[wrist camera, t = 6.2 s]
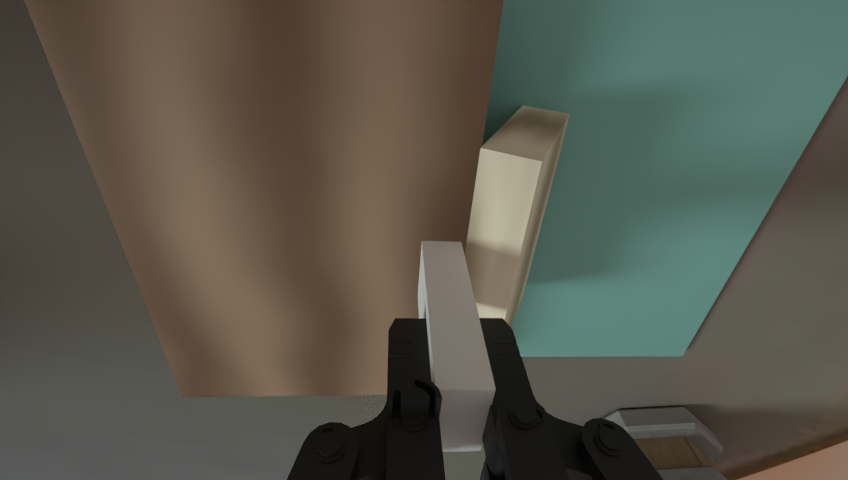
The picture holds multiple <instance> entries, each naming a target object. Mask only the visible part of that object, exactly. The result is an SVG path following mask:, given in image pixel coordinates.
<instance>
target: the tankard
mask: <svg viewBox="0 0 848 480" xmlns="http://www.w3.org/2000/svg"><path fill="white" fill-rule="evenodd" d="M603 419H606V420H610V421H613V422H614V423H616V424H618V425H619V426H621V427H623V428H624V429H625V430H626V431H627V433H628V434H629V435H630V436H631V437H632V438H633V440H634V441H635V442H636V444H637V445H638V446H639V448H640V449H641V450H642V452H643V453H644V454H645V456H646V457H647V458H648V460H649V461H650V462H651V464H652V465H653V466H654V468H655V469H656V470H657V472H658V473H659V475H660V476H661V477H662V479H663V480H728V479H727V478H725V477H724V476H723V475H722V474H721V473H719V472H718V471H717V470H716V468H715V467H714V465H713V464H714V462H715V461H716V460H717V458H718V457H719V455H720V454H721V453H722V450H723V447H722V445H721V444H720V442H719V441H718V439H717V438H716V436H715V435H714V433H713V432H712V431H711V430H710V429H708V428H707V427H706V426H705V425H704V424H703V423H702V422H701V421H700V420H699V419H697V418H696V417H695V416H694V415H693V414H692V413H691V412H690V411H689V410H687V409H686V408H685V407H662V408H643V409H625V410H616V411H614V412H612V413H611V414H609V415H607V416H605V417H603Z"/></svg>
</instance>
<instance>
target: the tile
mask: <svg viewBox="0 0 848 480" xmlns="http://www.w3.org/2000/svg"><path fill="white" fill-rule="evenodd" d="M569 115H570V114H569V113H563V112H558V111H552V110H547V109H541V108H536V107H530V106H525V105H523V106H522V107H521V108H520V109H519V110H518V111H517V112H516V113H515V114H514V115H513V116H512V117H511V118H510V119H509V120H508V121H507V122H506V123H505V124H504V125H503V126H502V127H501V128H500V129H499V130H498V131H497V132H496V133H495V134H494V135H493V136H492V137H491V138H490V139H489V140H488V141H487V142H486V143H485V144H484V145H483V146H482V147H481V148H480V154H479V161H478V168H477V175H476V181H475V188H474V195H473V202H472V208H471V215H470V222H469V229H468V235H467V242H466V249H465V259H466V264H467V268H468V272H469V277H470V281H471V285H472V289H473V294H474V298H475V302H476V306H477V311H478V315H479V318H503V319H504V320H505V321H506V323H507V324H508V325H509V326H510V327H511V325H512V322H513V320H514V317H515V315H516V312H517V309H518V307H519V304H520V302H521V299H522V297H523V294H524V290H525V286H526V282H527V278H528V274H529V270H530V267H531V263H532V259H533V255H534V251H535V247H536V243H537V239H538V236H539V232H540V228H541V224H542V220H543V216H544V212H545V208H546V205H547V201H548V197H549V193H550V189H551V185H552V181H553V177H554V174H555V170H556V166H557V162H558V158H559V154H560V150H561V146H562V143H563V139H564V135H565V131H566V127H567V123H568V119H569Z"/></svg>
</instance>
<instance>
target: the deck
mask: <svg viewBox="0 0 848 480" xmlns="http://www.w3.org/2000/svg"><path fill="white" fill-rule="evenodd" d="M503 1H504V0H24V2H25V4H26V7H27V9H28V12H29V14H30V17H31V19H32V22H33V24H34V27H35V29H36V32H37V34H38V37H39V39H40V42H41V44H42V47H43V50H44V52H45V55H46V57H47V60H48V62H49V65H50V67H51V70H52V72H53V75H54V77H55V80H56V82H57V85H58V87H59V90H60V92H61V95H62V97H63V100H64V102H65V105H66V107H67V110H68V112H69V115H70V117H71V120H72V122H73V125H74V127H75V130H76V132H77V135H78V138H79V140H80V143H81V145H82V148H83V150H84V153H85V155H86V158H87V160H88V163H89V165H90V168H91V170H92V173H93V175H94V178H95V180H96V183H97V185H98V188H99V190H100V193H101V195H102V198H103V200H104V203H105V205H106V208H107V210H108V213H109V215H110V218H111V220H112V223H113V226H114V228H115V231H116V233H117V236H118V238H119V241H120V243H121V246H122V248H123V251H124V253H125V256H126V258H127V261H128V263H129V266H130V268H131V271H132V273H133V276H134V278H135V281H136V283H137V286H138V288H139V291H140V293H141V296H142V298H143V301H144V303H145V306H146V308H147V311H148V313H149V316H150V319H151V321H152V324H153V326H154V329H155V331H156V334H157V336H158V339H159V341H160V344H161V346H162V349H163V351H164V354H165V356H166V359H167V361H168V364H169V366H170V369H171V371H172V374H173V376H174V379H175V381H176V384H177V386H178V389H179V391H180V394H181V396H182V397H239V396H328V395H387V372H388V333H389V328H390V327H391V325H392V323H393V321H394V320H395V318H419V311H418V284H419V271H420V257H421V244H422V241H451V242H462V247H463V251H464V255H465V249H466V242H467V235H468V229H469V222H470V215H471V208H472V202H473V195H474V188H475V181H476V175H477V168H478V161H479V154H480V148H481V147H482V144H483V137H484V130H485V123H486V116H487V110H488V103H489V96H490V89H491V83H492V76H493V69H494V62H495V55H496V49H497V42H498V35H499V28H500V22H501V15H502V8H503Z"/></svg>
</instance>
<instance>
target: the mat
mask: <svg viewBox="0 0 848 480" xmlns="http://www.w3.org/2000/svg"><path fill="white" fill-rule="evenodd" d="M847 76H848V0H504V1H503V8H502V15H501V22H500V28H499V35H498V42H497V49H496V55H495V62H494V69H493V76H492V83H491V89H490V96H489V103H488V110H487V116H486V123H485V130H484V137H483V144H482V146H483V145H484V144H485V143H486V142H487V141H488V140H489V139H490V138H491V137H492V136H493V135H494V134H495V133H496V132H497V131H498V130H499V129H500V128H501V127H502V126H503V125H504V124H505V123H506V122H507V121H508V120H509V119H510V118H511V117H512V116H513V115H514V114H515V113H516V112H517V111H518V110H519V109H520V108H521V107H522V106H523V105H525V106H530V107H536V108H541V109H547V110H552V111H558V112H563V113H569V114H570V115H569V119H568V123H567V127H566V131H565V135H564V139H563V143H562V146H561V150H560V154H559V158H558V162H557V166H556V170H555V174H554V177H553V181H552V185H551V189H550V193H549V197H548V201H547V205H546V208H545V212H544V216H543V220H542V224H541V228H540V232H539V236H538V239H537V243H536V247H535V251H534V255H533V259H532V263H531V267H530V270H529V274H528V278H527V282H526V286H525V290H524V294H523V297H522V299H521V302H520V304H519V307H518V309H517V312H516V315H515V317H514V320H513V322H512V325H511V328H512V330H513V333H514V336H515V339H516V342H517V345H518V348H519V351H520V356H521V357H604V356H683V354H684V353H685V351H686V349H687V348H688V346H689V344H690V343H691V341H692V339H693V338H694V336H695V334H696V332H697V331H698V329H699V327H700V326H701V324H702V322H703V321H704V319H705V317H706V315H707V314H708V312H709V310H710V309H711V307H712V305H713V304H714V302H715V300H716V298H717V297H718V295H719V293H720V292H721V290H722V288H723V287H724V285H725V283H726V282H727V280H728V278H729V276H730V275H731V273H732V271H733V270H734V268H735V266H736V265H737V263H738V261H739V259H740V258H741V256H742V254H743V253H744V251H745V249H746V248H747V246H748V244H749V242H750V241H751V239H752V237H753V236H754V234H755V232H756V231H757V229H758V227H759V225H760V224H761V222H762V220H763V219H764V217H765V215H766V214H767V212H768V210H769V209H770V207H771V205H772V203H773V202H774V200H775V198H776V197H777V195H778V193H779V192H780V190H781V188H782V186H783V185H784V183H785V181H786V180H787V178H788V176H789V175H790V173H791V171H792V169H793V168H794V166H795V164H796V163H797V161H798V159H799V158H800V156H801V154H802V153H803V151H804V149H805V147H806V146H807V144H808V142H809V141H810V139H811V137H812V136H813V134H814V132H815V130H816V129H817V127H818V125H819V124H820V122H821V120H822V119H823V117H824V115H825V113H826V112H827V110H828V108H829V107H830V105H831V103H832V102H833V100H834V98H835V97H836V95H837V93H838V91H839V90H840V88H841V86H842V85H843V83H844V81H845V80H846V78H847Z"/></svg>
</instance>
